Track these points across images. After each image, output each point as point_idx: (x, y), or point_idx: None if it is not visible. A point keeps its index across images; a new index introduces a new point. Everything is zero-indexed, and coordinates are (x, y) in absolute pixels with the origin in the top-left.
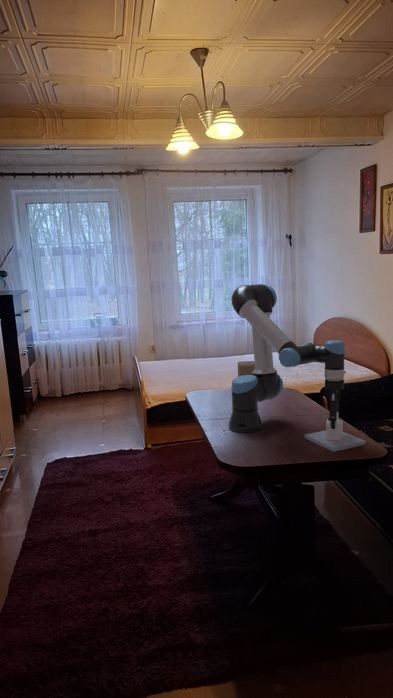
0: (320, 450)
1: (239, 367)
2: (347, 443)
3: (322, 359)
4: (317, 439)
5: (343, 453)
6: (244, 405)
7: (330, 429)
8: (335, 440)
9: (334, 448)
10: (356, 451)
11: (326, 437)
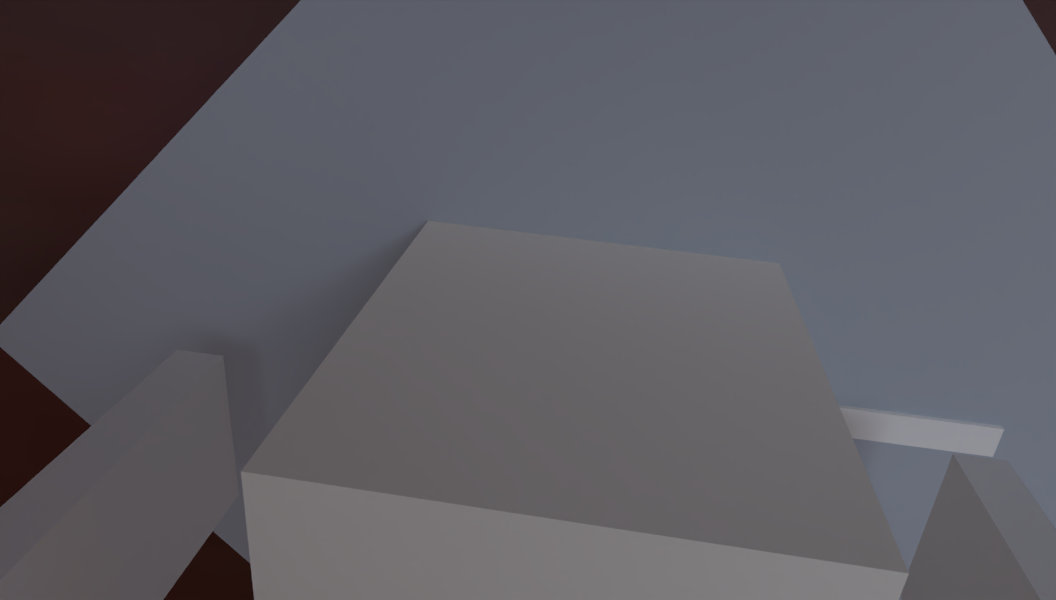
0: (3, 75)
1: None
2: None
3: None
4: (376, 12)
5: (46, 434)
6: None
7: (58, 480)
8: None
9: (9, 344)
10: (199, 595)
11: (417, 245)
